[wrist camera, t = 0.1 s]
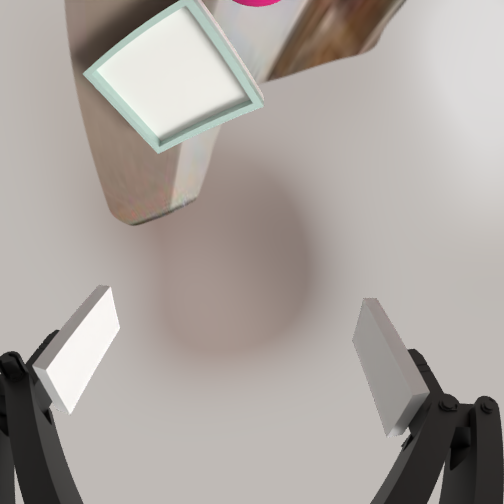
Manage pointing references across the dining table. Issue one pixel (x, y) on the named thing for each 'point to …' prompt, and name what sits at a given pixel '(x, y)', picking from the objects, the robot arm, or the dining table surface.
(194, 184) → the dining table surface
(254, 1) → the pepper mill
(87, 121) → the dining table surface
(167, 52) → the rolling base
